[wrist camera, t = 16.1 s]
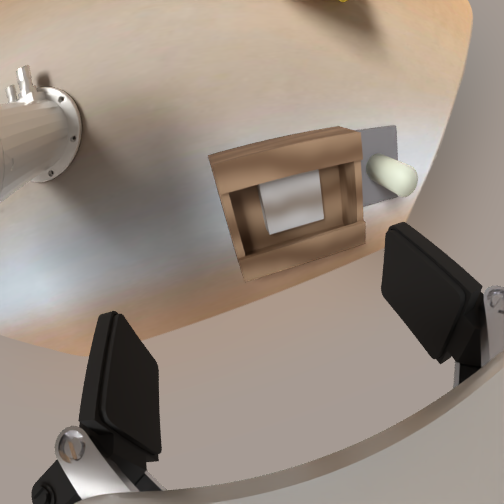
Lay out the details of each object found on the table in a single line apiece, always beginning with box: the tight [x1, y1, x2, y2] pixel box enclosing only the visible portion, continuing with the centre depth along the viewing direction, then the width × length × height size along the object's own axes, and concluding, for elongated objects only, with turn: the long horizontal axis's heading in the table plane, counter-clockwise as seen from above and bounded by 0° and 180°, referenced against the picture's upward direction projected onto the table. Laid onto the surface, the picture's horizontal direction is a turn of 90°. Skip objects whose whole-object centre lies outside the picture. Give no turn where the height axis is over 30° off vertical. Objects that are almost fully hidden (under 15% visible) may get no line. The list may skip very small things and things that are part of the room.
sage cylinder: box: [366, 153, 418, 197], centre depth 35 cm, size 4×4×7 cm
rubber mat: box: [356, 126, 398, 206], centre depth 39 cm, size 12×8×1 cm, turn 12°
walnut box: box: [208, 126, 365, 282], centre depth 36 cm, size 16×18×6 cm
